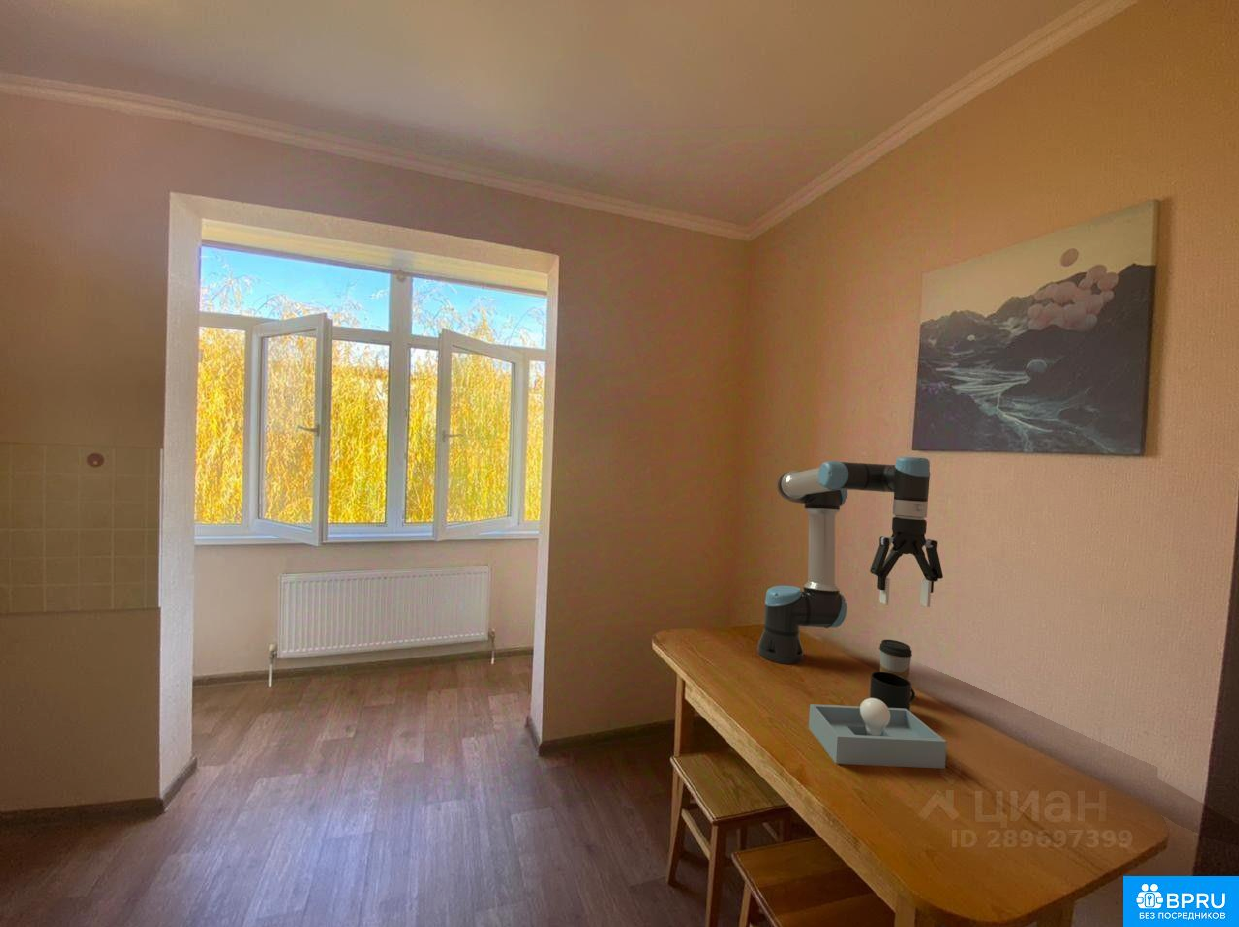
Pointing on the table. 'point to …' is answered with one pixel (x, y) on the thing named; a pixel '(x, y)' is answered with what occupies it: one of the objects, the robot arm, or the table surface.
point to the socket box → (876, 738)
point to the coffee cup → (895, 658)
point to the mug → (891, 690)
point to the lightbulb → (874, 716)
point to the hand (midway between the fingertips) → (904, 604)
